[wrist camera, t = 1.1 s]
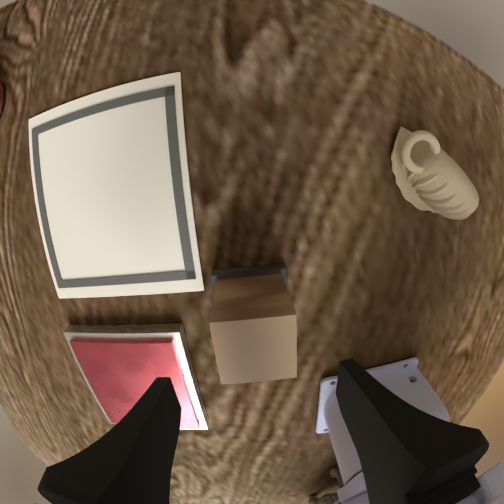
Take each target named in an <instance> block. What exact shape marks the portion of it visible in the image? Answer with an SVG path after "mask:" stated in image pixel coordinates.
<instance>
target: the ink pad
mask: <svg viewBox="0 0 504 504" xmlns="http://www.w3.org/2000/svg"><path fill="white" fill-rule="evenodd" d="M63 333H64V335H65V337H66V340H67V342H68V344H69V347H70V349H71V351H72V353H73V356H74V358H75V360H76V362H77V364H78V366H79V368H80V370H81V372H82V374H83V376H84V378H85V380H86V382H87V384H88V386H89V388H90V390H91V392H92V393H93V395H94V397H95V399H96V401H97V402H98V404H99V406H100V408H101V409H102V411H103V413H104V414H105V416H106V418H107V419H108V421H109V422H110V423H113V424H117V423H118V422H119V421H120V420H121V419H122V418H123V417H124V416H125V415H126V414H127V413H128V412H129V411H130V409H131V408H132V407H133V406H134V405H135V404H136V402H137V401H138V400H139V399H140V398H141V396H142V395H143V394H144V393H145V391H146V390H147V389H148V388H149V386H150V385H151V384H152V383H153V381H154V380H155V379H156V378H157V377H170V378H171V381H172V383H173V386H174V389H175V392H176V394H177V397H178V400H179V402H180V405H181V408H182V409H181V423H180V429H195V430H208V422H209V419H208V416H207V413H206V410H205V406H204V403H203V400H202V396H201V393H200V389H199V386H198V382H197V379H196V375H195V371H194V368H193V364H192V360H191V356H190V352H189V348H188V344H187V340H186V336H185V332H184V328H183V324H182V323H173V324H146V325H69V326H68V327H67V329H66V330H65V331H64V332H63Z"/></svg>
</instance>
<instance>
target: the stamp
mask: <svg viewBox="0 0 504 504" xmlns="http://www.w3.org/2000/svg"><path fill="white" fill-rule="evenodd" d="M211 279H212V285H213V292H214V297H213V303H212V308H211V314H210V320H209V325H210V330H211V336H212V341H213V346H214V351H215V356H216V361H217V366H218V371H219V375H220V380H221V384H236V383H249V382H260V381H270V380H279V379H287V378H295V377H297V327H296V312H295V309H294V307H293V304H292V301H291V298H290V295H289V293H288V290H287V275H286V267H285V265H284V263H280V264H270V265H259V266H248V267H238V268H227V269H216V270H212V274H211Z"/></svg>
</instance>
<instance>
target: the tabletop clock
mask: <svg viewBox="0 0 504 504" xmlns="http://www.w3.org/2000/svg"><path fill="white" fill-rule="evenodd" d="M330 476H331V477H333V478H337V481H338V483H339V486H340V488H342V487H344V484H343V480H342V478H341V477H340V476H341V473H340V470H339V467H333V468H332V469H331V470H330ZM338 500H339V497H338V494H337V492H336V493H330V494H325V495H323V496H322V497H321V498H320V499H319V498H318V497H315V496H314V497H311V498H310V499H309V503H310V504H334V503H335V502H336V501H338Z"/></svg>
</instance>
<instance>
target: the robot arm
mask: <svg viewBox="0 0 504 504" xmlns="http://www.w3.org/2000/svg"><path fill="white" fill-rule="evenodd" d="M418 361H419V360H418V359H417V358H416V357H413V358H410V359H406V360H403V361H399V362H395V363H391V364H387V365H383V366H379V367H375V368H371V369H366V370H365V369H364V368H363V367H362V366H361V365H359V364H358V363H357V362H356V361H355V360H354V359H348V360H343V361H339V370H338V375H337V376H332V377H326V378H324V379H322V380H321V382H320V393H319V403H318V413H317V422H316V433H319V434H321V433H326V432H329V436H330V439H331V442H332V446H333V449H334V453H335V456H336V459H337V463H338V466H339V470H340V473H341V477H342V480H343V484H344V487H342V488H340V489H338V490H337V494H338V497H339V500H338V501H336V502H335V503H334V504H504V465H503V463H502V462H499V463H498V464H496V465H495V466H494V467H492V468H491V469H489V470H488V471H487V472H485V473H484V474H482V475H481V476H480V477H478V478H476V477H475V475H474V474H476V473H477V469H476V468H475V464H476V463H477V462H478V461H479V460H480V459H481V458H482V456H483V455H484V454H485V453H486V451H487V450H488V447H489V443H488V441H487V440H486V438H485V437H484V435H483V434H482V432H481V431H480V430H479V429H475V428H470V427H466V426H460V425H457V424H454V423H451V422H450V419H449V415H448V412H447V409H446V407H445V406H444V404H443V402H442V401H441V400H440V398H439V397H438V395H437V394H436V393H435V391H434V390H433V388H432V387H431V386H430V384H429V383H428V381H427V380H426V379H425V377H424V376H423V375H422V373H421V372H420V371H419V369H418V368H417V365H418ZM332 381H333V382H332ZM181 409H182V408H181V405H180V402H179V400H178V397H177V394H176V392H175V389H174V386H173V383H172V381H171V378H170V377H157V378H156V379H155V380H154V381H153V383H152V384H151V385H150V386H149V388H148V389H147V390H146V391H145V393H144V394H143V395H142V396H141V398H140V399H139V400H138V401H137V402H136V404H135V405H134V406H133V407H132V408H131V409H130V411H129V412H128V413H127V414H126V415H125V416H124V417H123V418H122V419H121V420H120V421H119V422H118V423H117V424H116V425H115V426H114V427H113V428H112V429H111V430H110V431H109V432H107V433H106V434H105V435H104V436H103V437H101V438H100V439H99V440H97V441H96V442H94V443H93V444H92V445H90V446H89V447H87V448H86V449H84V450H83V451H81V452H79V453H78V454H76V455H74V456H72V457H70V458H68V459H66V460H64V461H62V462H59V463H57V464H54V465H52V466H49V467H47V468H46V471H45V472H44V475H43V477H42V479H41V481H40V484H39V486H38V491H39V492H40V494H41V495H42V496H43V497H44V498H46V499H47V500H48V501H49V502H51V503H52V504H169V495H170V477H171V469H172V464H173V459H174V454H175V449H176V445H177V440H178V435H179V430H180V423H181ZM34 504H37V503H34Z"/></svg>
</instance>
